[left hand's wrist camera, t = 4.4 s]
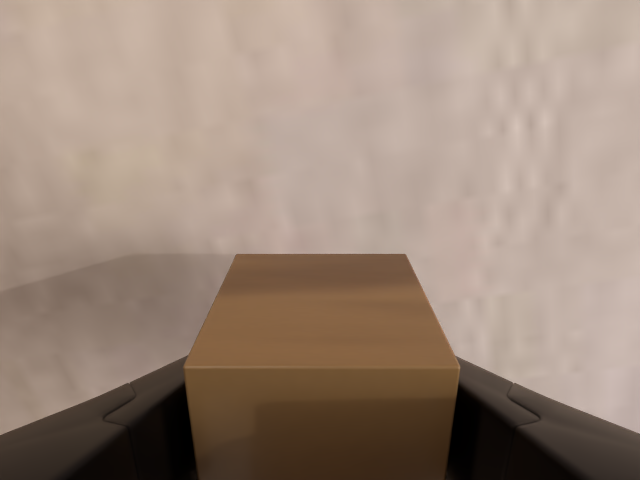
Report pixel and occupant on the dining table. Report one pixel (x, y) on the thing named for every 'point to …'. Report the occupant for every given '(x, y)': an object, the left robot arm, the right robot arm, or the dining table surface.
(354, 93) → the dining table surface
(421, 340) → the block
